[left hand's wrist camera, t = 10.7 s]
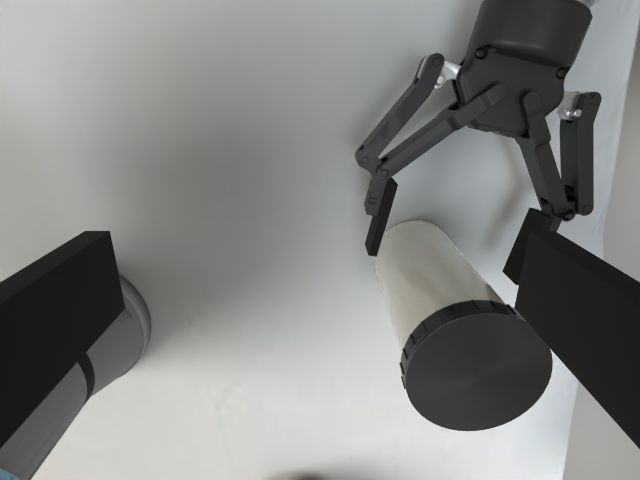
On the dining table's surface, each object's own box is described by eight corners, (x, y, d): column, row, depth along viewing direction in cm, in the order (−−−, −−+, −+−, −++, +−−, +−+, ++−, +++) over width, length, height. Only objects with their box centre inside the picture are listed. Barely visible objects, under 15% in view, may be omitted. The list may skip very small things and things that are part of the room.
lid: (417, 289, 24) (424, 302, 23) (561, 308, 25) (577, 322, 23) (386, 405, 27) (390, 423, 26) (514, 420, 28) (525, 438, 26)
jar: (381, 214, 40) (427, 306, 23) (460, 225, 41) (562, 323, 24) (366, 286, 43) (397, 414, 26) (440, 296, 44) (517, 427, 27)
